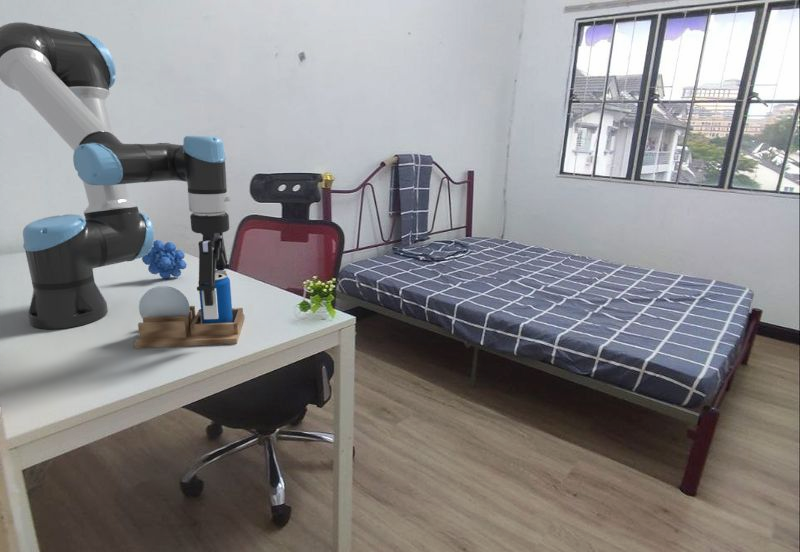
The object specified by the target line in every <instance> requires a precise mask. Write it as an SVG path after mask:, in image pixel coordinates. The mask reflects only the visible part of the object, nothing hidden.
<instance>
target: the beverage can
mask: <svg viewBox="0 0 800 552" xmlns="http://www.w3.org/2000/svg"><path fill="white" fill-rule="evenodd" d="M205 284H209V283H205ZM197 285H199V281H198V284H197ZM215 289H216V294H217V306H218V319H204V312H203V301H202V291H198V293H199V301H200V302H199V303H200V309H201V315H202V324H206V323H233V316H232V308H233V306H232V305H233V302H232V290H231V289H232V288H231V279H230V278H229V277H228V273H227V274H226V273H224V272H216V273H215Z"/></svg>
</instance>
